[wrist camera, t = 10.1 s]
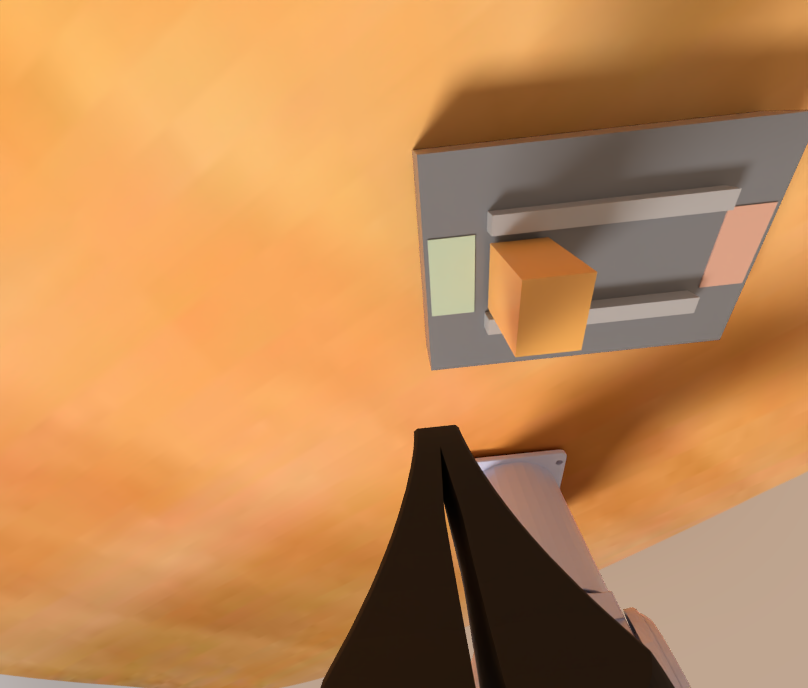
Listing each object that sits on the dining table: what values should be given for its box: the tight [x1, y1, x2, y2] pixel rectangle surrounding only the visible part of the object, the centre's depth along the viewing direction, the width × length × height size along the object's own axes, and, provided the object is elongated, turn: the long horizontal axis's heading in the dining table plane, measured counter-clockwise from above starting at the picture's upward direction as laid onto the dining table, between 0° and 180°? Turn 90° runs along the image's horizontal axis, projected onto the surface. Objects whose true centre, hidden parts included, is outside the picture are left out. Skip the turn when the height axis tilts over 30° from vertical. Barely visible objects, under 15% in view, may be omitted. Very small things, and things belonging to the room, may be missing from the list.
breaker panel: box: [412, 110, 808, 370], centre depth 17 cm, size 10×15×3 cm, turn 96°
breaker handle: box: [488, 237, 597, 357], centre depth 14 cm, size 3×2×4 cm
